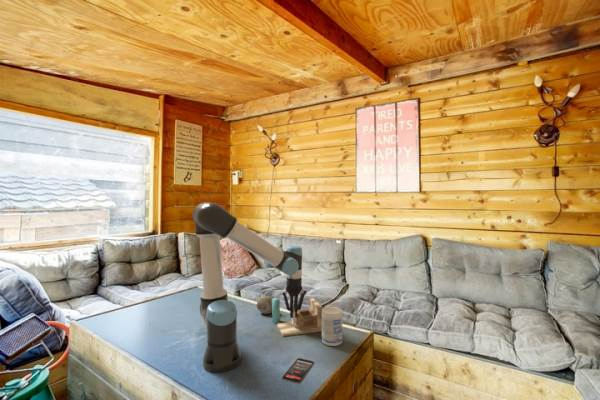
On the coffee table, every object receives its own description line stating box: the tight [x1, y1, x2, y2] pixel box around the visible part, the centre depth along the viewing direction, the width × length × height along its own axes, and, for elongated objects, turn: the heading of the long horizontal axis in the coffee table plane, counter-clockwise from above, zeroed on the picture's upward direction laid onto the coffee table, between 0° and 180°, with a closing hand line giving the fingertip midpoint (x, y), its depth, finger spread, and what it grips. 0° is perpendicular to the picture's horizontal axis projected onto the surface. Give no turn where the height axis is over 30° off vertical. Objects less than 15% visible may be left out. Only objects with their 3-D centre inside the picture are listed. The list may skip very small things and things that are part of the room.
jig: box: [276, 297, 323, 338], centre depth 154 cm, size 13×20×12 cm, turn 107°
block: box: [295, 308, 317, 330], centre depth 155 cm, size 9×9×6 cm
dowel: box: [271, 297, 281, 324], centre depth 161 cm, size 4×4×12 cm
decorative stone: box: [256, 295, 273, 315], centre depth 173 cm, size 10×8×10 cm
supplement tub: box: [321, 306, 343, 347], centre depth 139 cm, size 10×10×15 cm
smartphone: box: [281, 357, 315, 384], centre depth 117 cm, size 7×1×15 cm
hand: (293, 323), depth 153 cm, fingers closed
